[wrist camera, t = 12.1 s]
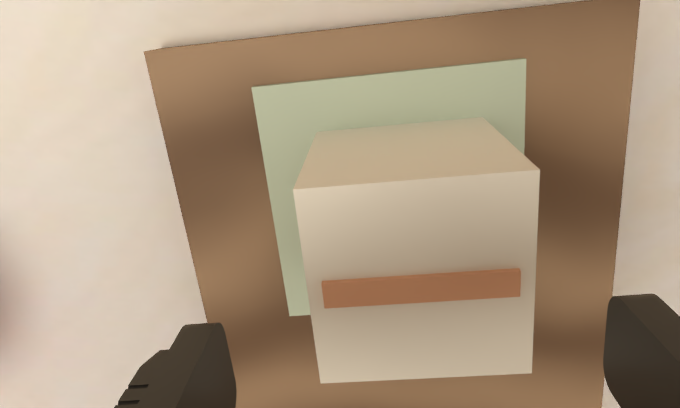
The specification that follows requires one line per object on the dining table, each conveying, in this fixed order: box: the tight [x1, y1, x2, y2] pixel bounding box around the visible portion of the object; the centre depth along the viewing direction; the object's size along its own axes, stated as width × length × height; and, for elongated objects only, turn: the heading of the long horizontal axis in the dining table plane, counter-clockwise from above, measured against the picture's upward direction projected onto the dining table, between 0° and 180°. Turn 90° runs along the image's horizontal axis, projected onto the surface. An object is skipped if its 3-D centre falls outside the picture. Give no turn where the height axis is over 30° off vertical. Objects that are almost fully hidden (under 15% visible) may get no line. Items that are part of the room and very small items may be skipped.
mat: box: [251, 58, 526, 316], centre depth 18 cm, size 9×9×1 cm
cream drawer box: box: [293, 117, 540, 384], centre depth 15 cm, size 6×6×6 cm
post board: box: [144, 0, 640, 408], centre depth 19 cm, size 24×16×6 cm, turn 6°
